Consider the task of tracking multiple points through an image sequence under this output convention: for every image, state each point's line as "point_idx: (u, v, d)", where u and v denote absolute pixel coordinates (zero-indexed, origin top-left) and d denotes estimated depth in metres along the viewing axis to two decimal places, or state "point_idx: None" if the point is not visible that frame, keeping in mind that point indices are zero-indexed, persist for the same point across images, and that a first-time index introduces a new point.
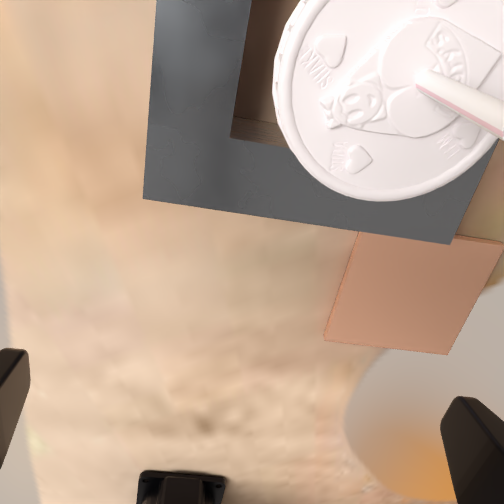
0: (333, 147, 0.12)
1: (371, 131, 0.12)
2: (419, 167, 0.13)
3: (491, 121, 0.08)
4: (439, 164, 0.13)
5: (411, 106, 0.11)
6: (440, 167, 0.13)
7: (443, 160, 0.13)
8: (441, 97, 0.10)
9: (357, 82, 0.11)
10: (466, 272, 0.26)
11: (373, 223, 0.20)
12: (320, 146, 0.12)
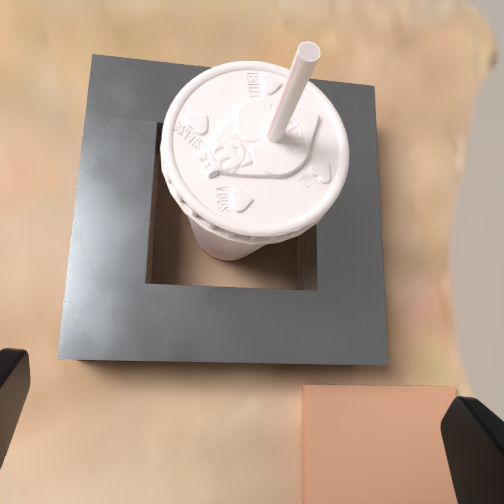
0: (217, 192, 0.14)
1: (244, 176, 0.15)
2: (294, 202, 0.15)
3: (294, 61, 0.11)
4: (310, 198, 0.15)
5: (269, 152, 0.15)
6: (312, 200, 0.15)
7: (311, 194, 0.15)
8: (276, 110, 0.13)
9: (222, 139, 0.15)
10: (432, 426, 0.23)
11: (303, 352, 0.20)
12: (206, 193, 0.14)
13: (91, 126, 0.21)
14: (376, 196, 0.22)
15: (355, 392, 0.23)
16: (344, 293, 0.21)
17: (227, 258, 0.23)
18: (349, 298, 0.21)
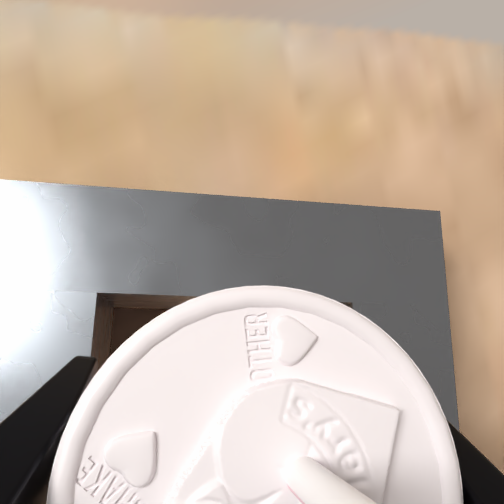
0: None
1: None
2: None
3: None
4: None
5: None
6: None
7: None
8: None
9: None
10: None
11: None
12: None
13: None
14: (451, 400, 0.14)
15: None
16: None
17: None
18: None
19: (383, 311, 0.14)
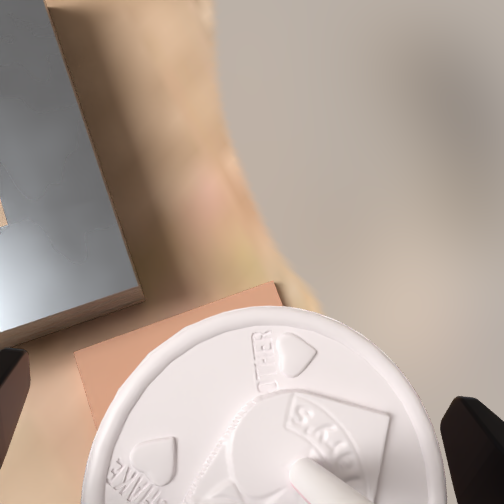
0: None
1: None
2: None
3: None
4: None
5: None
6: None
7: None
8: None
9: (204, 500, 0.07)
10: None
11: (8, 312, 0.14)
12: None
13: None
14: (63, 75, 0.16)
15: (145, 335, 0.17)
16: (49, 214, 0.15)
17: None
18: (58, 218, 0.15)
19: None
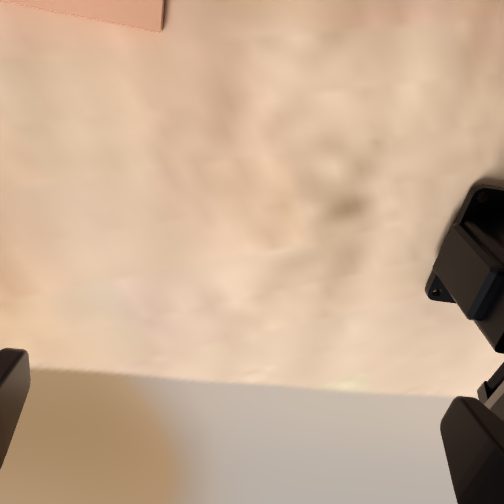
0: None
1: None
2: None
3: None
4: None
5: None
6: None
7: None
8: None
9: None
10: None
11: None
12: None
13: None
14: None
15: None
16: None
17: None
18: None
19: None
